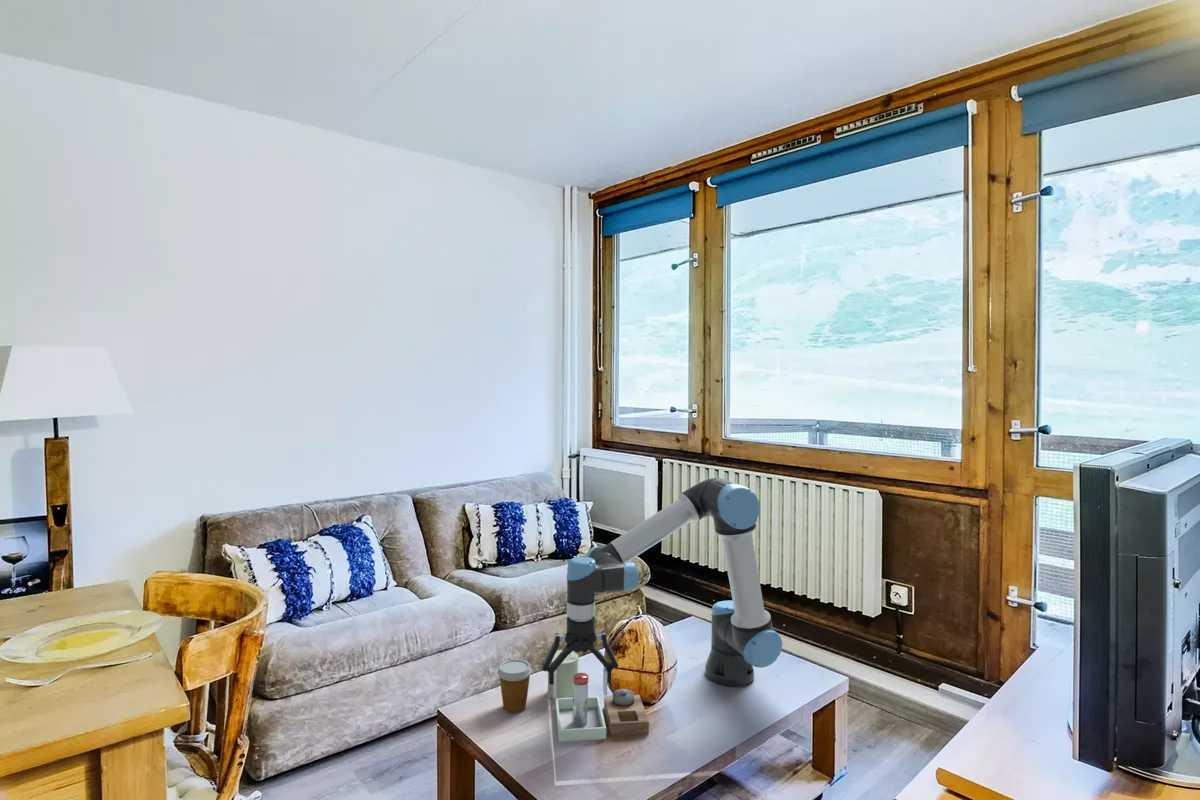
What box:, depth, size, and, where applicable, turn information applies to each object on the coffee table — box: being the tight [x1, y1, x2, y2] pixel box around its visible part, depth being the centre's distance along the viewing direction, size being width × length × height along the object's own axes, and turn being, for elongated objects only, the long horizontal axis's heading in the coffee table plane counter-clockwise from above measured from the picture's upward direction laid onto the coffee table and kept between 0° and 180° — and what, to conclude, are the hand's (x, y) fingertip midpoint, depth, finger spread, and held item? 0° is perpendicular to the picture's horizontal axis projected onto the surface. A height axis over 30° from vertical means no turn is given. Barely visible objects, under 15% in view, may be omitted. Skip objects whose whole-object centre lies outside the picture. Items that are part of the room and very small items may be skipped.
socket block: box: [603, 688, 650, 737], centre depth 175 cm, size 14×10×7 cm
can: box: [546, 649, 580, 700], centre depth 190 cm, size 9×9×12 cm
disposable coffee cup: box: [497, 658, 533, 714], centre depth 182 cm, size 10×10×12 cm
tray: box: [555, 695, 607, 742], centre depth 174 cm, size 16×12×4 cm
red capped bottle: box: [571, 672, 589, 728], centre depth 174 cm, size 4×4×13 cm
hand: (580, 694), depth 173 cm, fingers open, 13 cm apart
